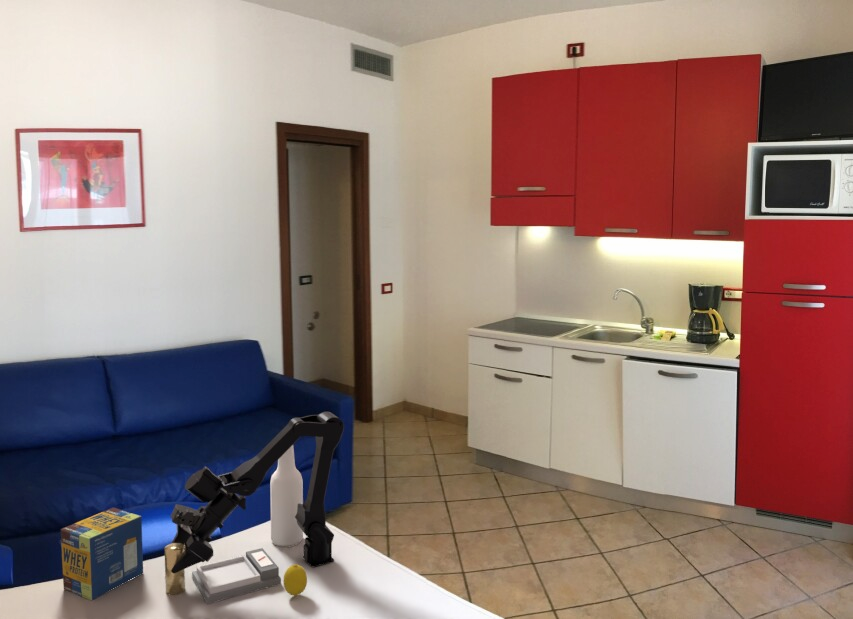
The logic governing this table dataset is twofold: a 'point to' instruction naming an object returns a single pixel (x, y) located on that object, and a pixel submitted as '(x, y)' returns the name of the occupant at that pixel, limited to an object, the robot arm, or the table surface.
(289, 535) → the alcohol
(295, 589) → the lemon
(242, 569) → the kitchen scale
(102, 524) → the protein box
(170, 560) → the cylinder
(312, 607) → the table surface
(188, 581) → the table surface
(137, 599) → the table surface
